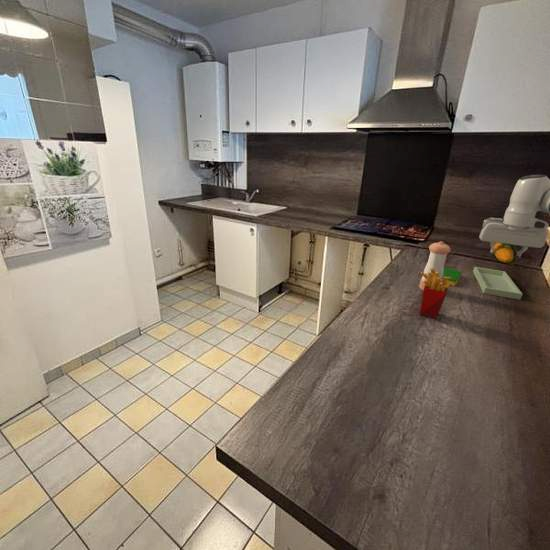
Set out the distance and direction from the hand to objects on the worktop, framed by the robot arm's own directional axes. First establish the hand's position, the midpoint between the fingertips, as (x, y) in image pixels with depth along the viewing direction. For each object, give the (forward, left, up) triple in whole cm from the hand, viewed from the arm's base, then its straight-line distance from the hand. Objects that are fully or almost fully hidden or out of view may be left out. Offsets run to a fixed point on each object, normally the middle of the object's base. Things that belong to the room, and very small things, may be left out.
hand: (504, 254), depth 115 cm
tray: (0, 0, -13) cm, 13 cm away
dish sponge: (+17, +3, -13) cm, 22 cm away
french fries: (+27, +40, -13) cm, 50 cm away
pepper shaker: (+25, +18, -13) cm, 33 cm away
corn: (0, 0, -3) cm, 3 cm away
